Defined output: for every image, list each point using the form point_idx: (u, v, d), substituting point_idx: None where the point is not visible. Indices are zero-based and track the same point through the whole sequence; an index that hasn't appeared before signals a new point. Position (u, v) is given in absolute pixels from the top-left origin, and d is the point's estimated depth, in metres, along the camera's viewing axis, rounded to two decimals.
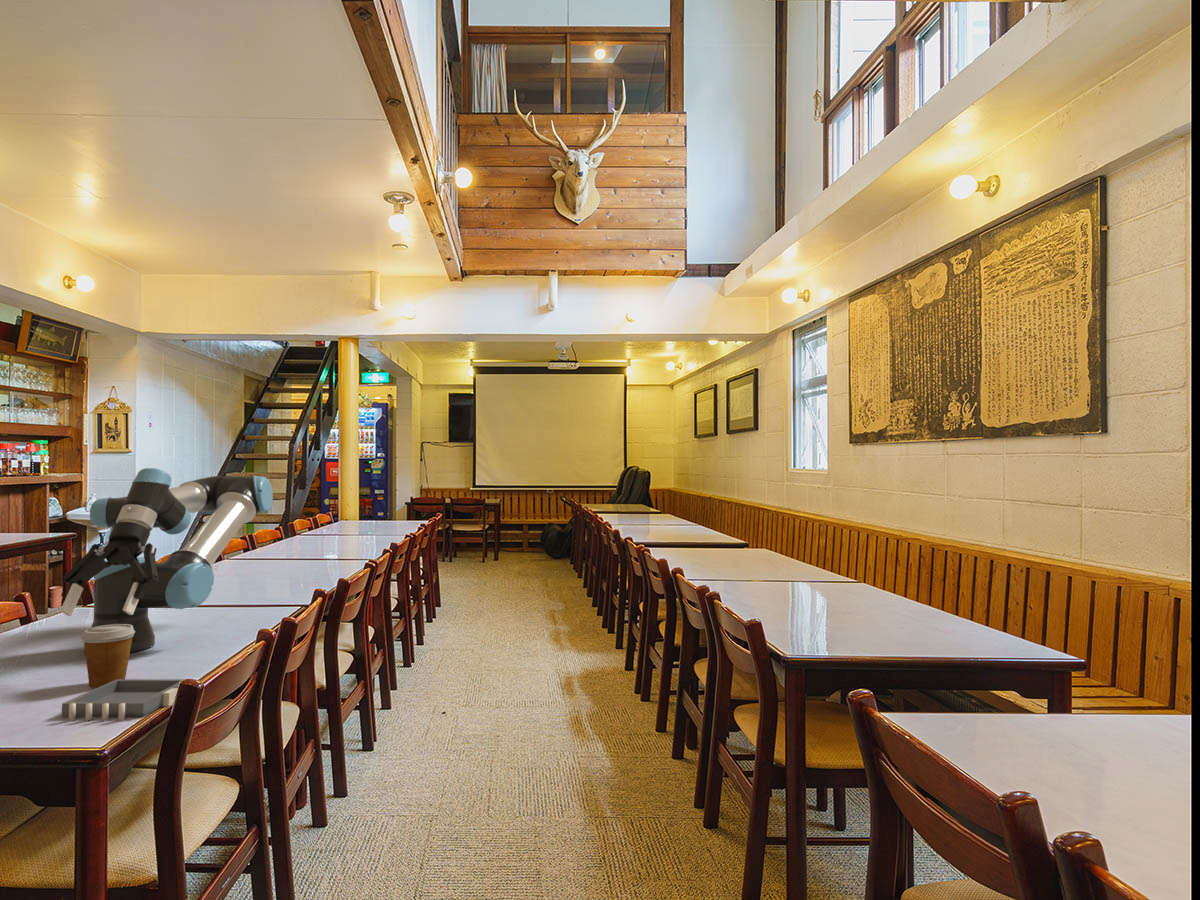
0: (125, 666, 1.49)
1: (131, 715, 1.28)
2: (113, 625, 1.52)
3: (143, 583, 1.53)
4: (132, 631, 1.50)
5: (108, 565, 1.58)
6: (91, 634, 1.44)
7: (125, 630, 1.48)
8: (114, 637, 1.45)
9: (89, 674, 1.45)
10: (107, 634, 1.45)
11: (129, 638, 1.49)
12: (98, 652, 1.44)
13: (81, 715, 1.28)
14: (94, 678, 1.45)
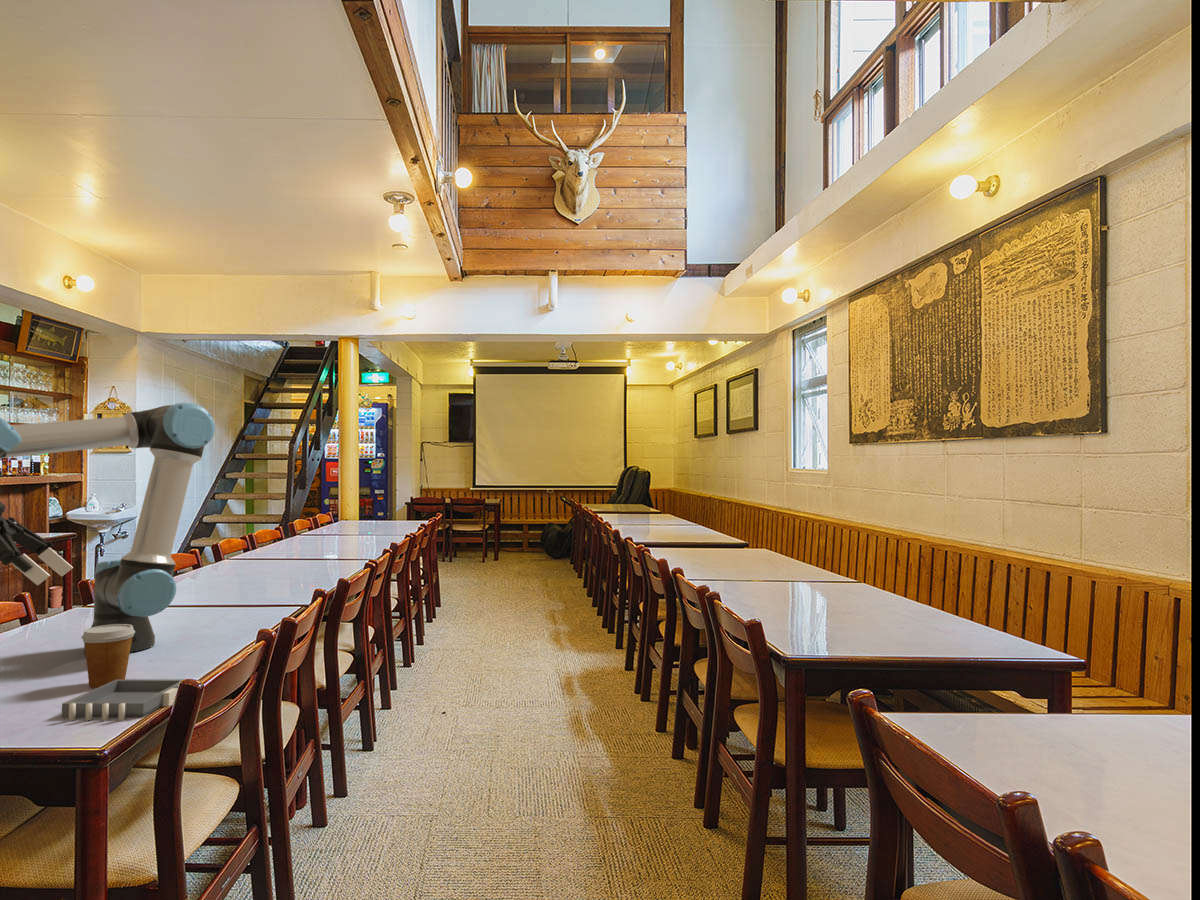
0: (125, 666, 1.49)
1: (131, 715, 1.28)
2: (113, 625, 1.52)
3: (11, 561, 1.39)
4: (132, 631, 1.50)
5: (20, 532, 1.48)
6: (91, 634, 1.44)
7: (125, 630, 1.48)
8: (114, 637, 1.45)
9: (89, 674, 1.45)
10: (107, 634, 1.45)
11: (129, 638, 1.49)
12: (98, 652, 1.44)
13: (81, 715, 1.28)
14: (94, 678, 1.45)
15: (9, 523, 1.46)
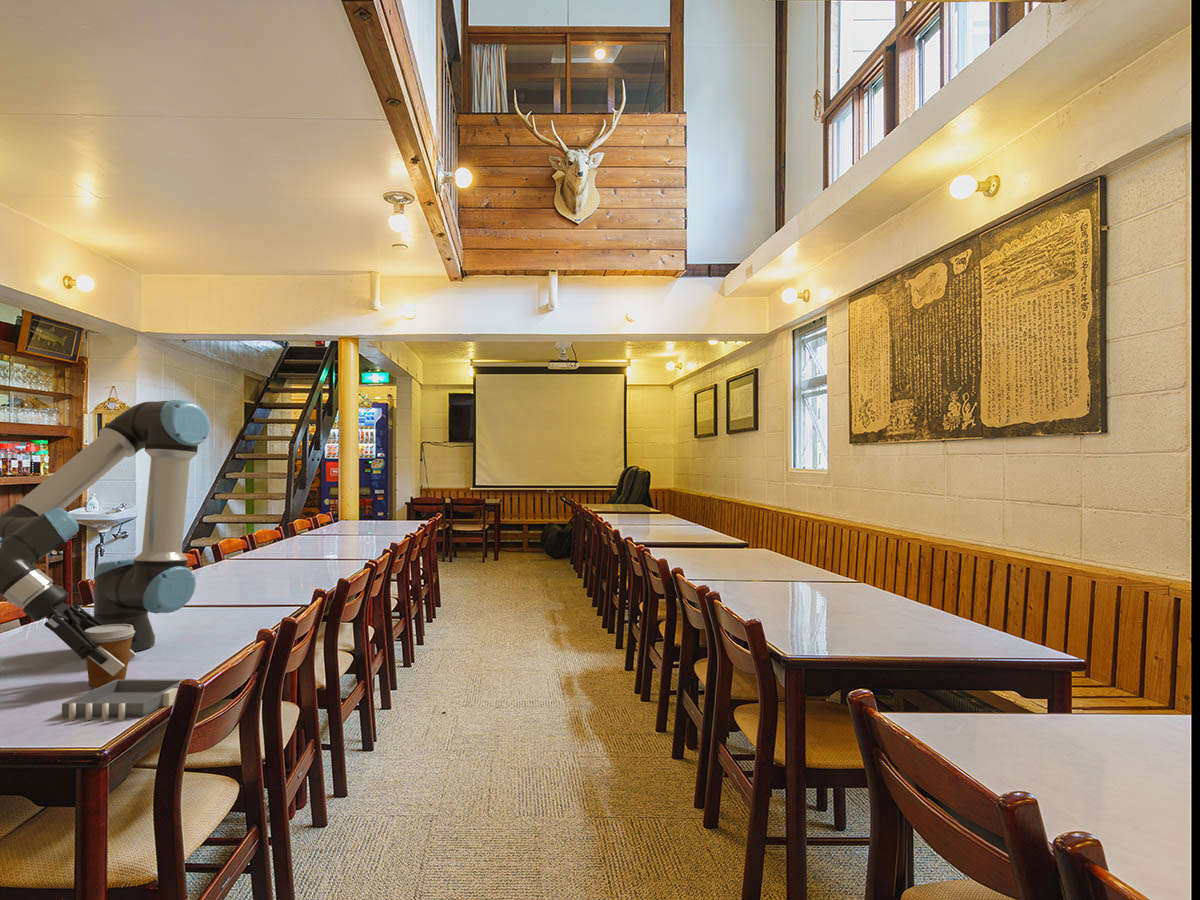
0: (125, 665, 1.49)
1: (131, 715, 1.28)
2: (113, 625, 1.52)
3: None
4: (132, 631, 1.50)
5: (83, 619, 1.49)
6: (91, 634, 1.44)
7: (125, 630, 1.48)
8: (114, 637, 1.45)
9: (89, 674, 1.45)
10: (107, 634, 1.45)
11: (129, 638, 1.49)
12: None
13: (81, 715, 1.28)
14: (94, 678, 1.45)
15: (72, 610, 1.47)
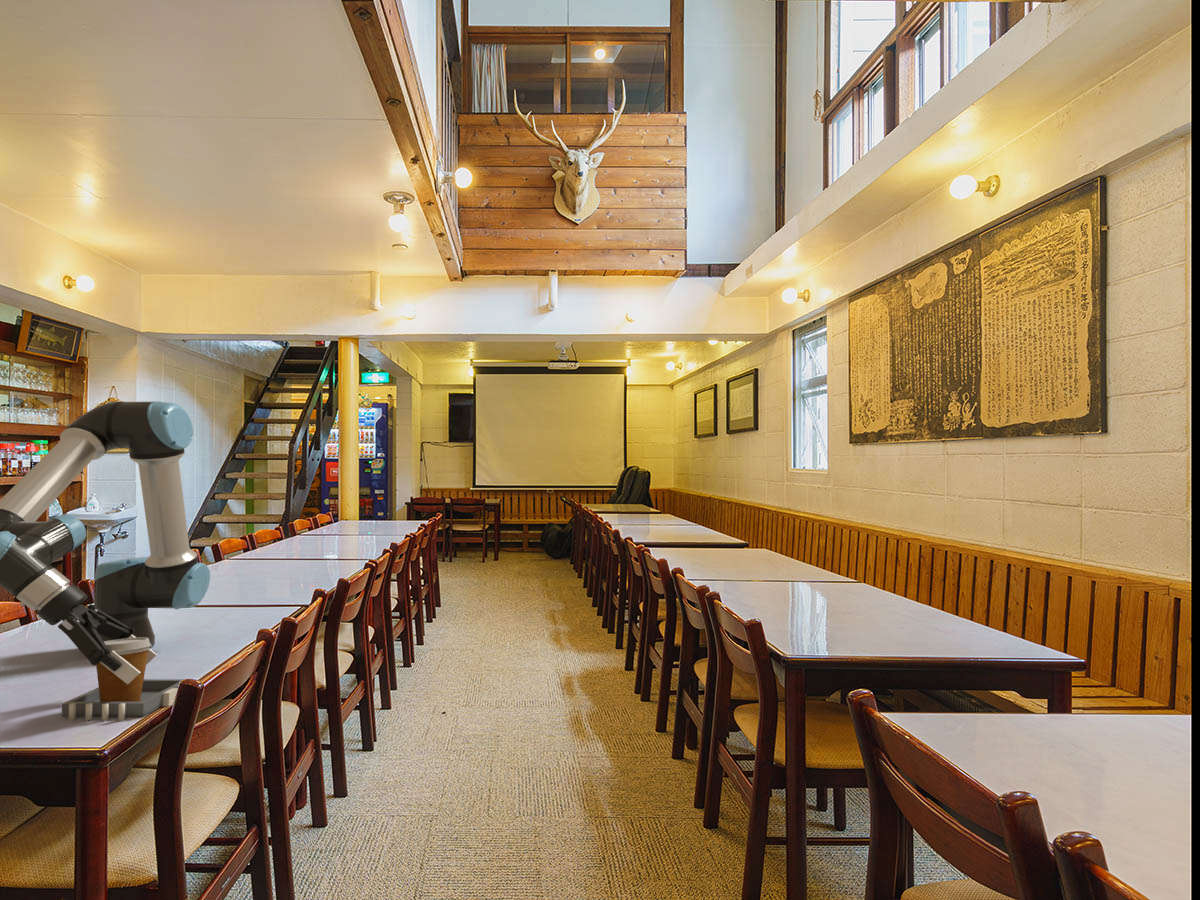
0: (140, 682, 1.34)
1: (131, 715, 1.28)
2: (127, 639, 1.38)
3: (100, 660, 1.27)
4: (148, 643, 1.35)
5: (103, 621, 1.37)
6: None
7: (141, 641, 1.33)
8: (129, 649, 1.31)
9: (101, 692, 1.30)
10: (121, 645, 1.30)
11: (145, 651, 1.34)
12: None
13: (81, 715, 1.28)
14: (106, 697, 1.30)
15: (92, 614, 1.34)
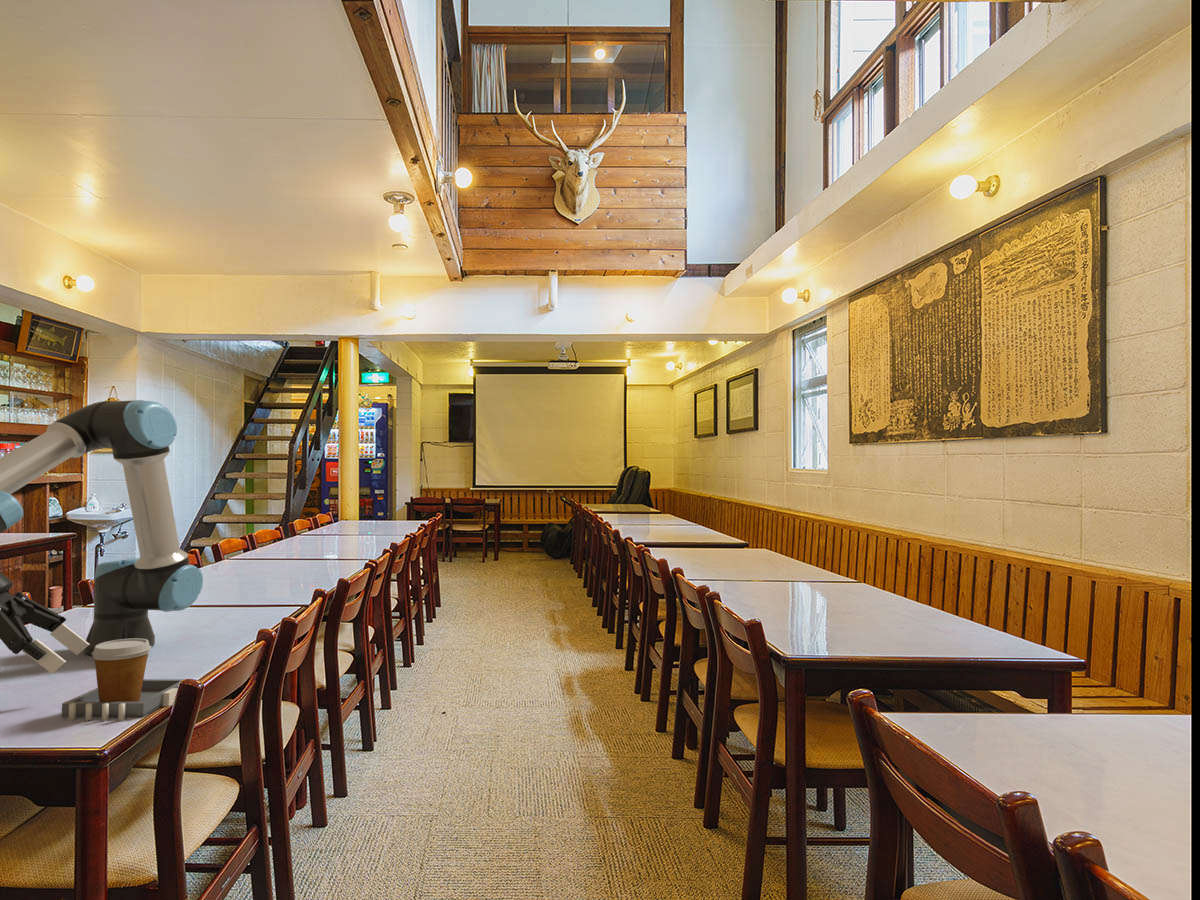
0: (139, 686, 1.33)
1: (131, 715, 1.28)
2: (127, 640, 1.37)
3: (22, 649, 1.23)
4: (147, 647, 1.34)
5: (30, 609, 1.33)
6: (102, 650, 1.29)
7: (139, 646, 1.32)
8: (127, 654, 1.30)
9: (100, 695, 1.30)
10: (119, 650, 1.29)
11: (144, 655, 1.33)
12: (109, 670, 1.29)
13: (81, 715, 1.28)
14: (105, 700, 1.29)
15: (18, 601, 1.30)
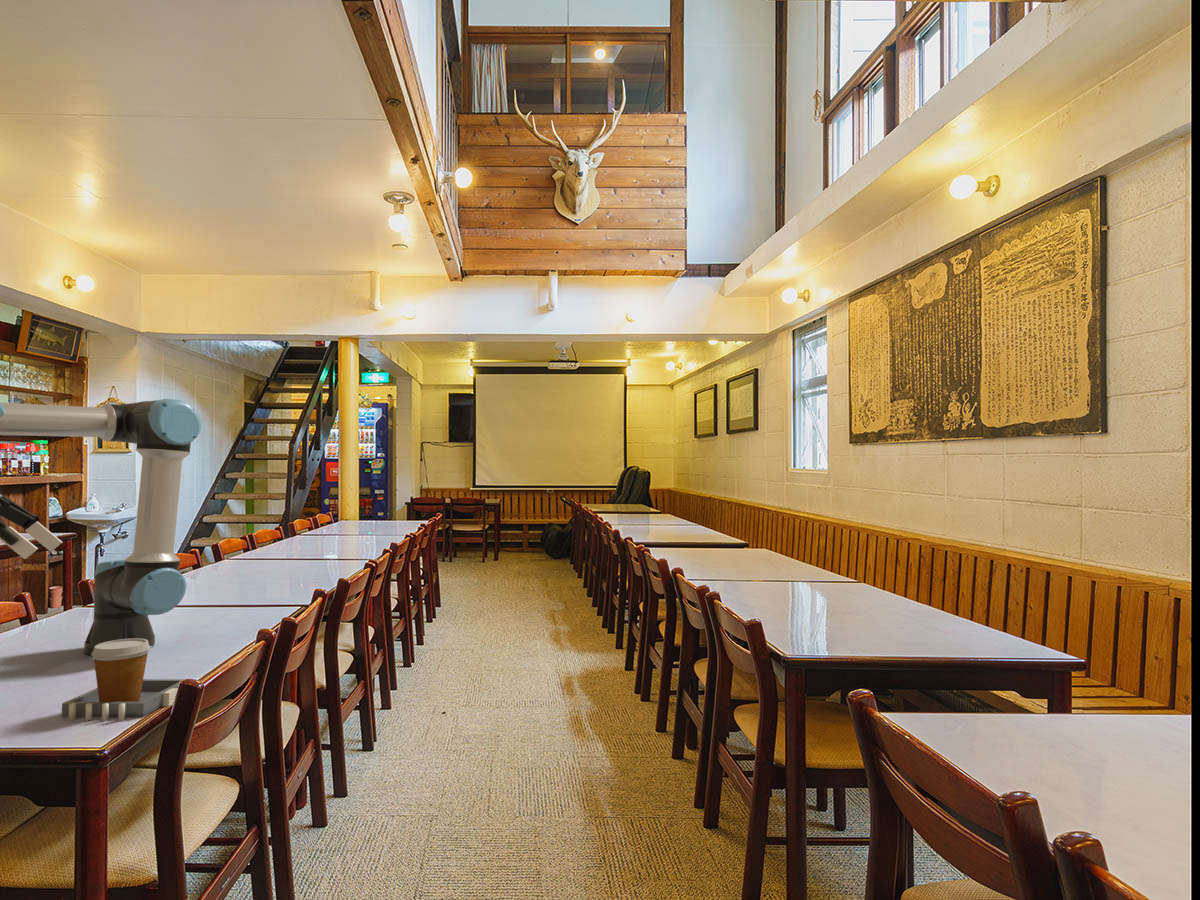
0: (139, 685, 1.33)
1: (131, 715, 1.28)
2: (127, 640, 1.37)
3: None
4: (147, 647, 1.34)
5: (6, 505, 1.42)
6: (101, 650, 1.29)
7: (139, 646, 1.32)
8: (127, 654, 1.30)
9: (99, 695, 1.30)
10: (119, 650, 1.29)
11: (144, 655, 1.33)
12: (109, 670, 1.29)
13: (81, 715, 1.28)
14: (105, 700, 1.29)
15: None
